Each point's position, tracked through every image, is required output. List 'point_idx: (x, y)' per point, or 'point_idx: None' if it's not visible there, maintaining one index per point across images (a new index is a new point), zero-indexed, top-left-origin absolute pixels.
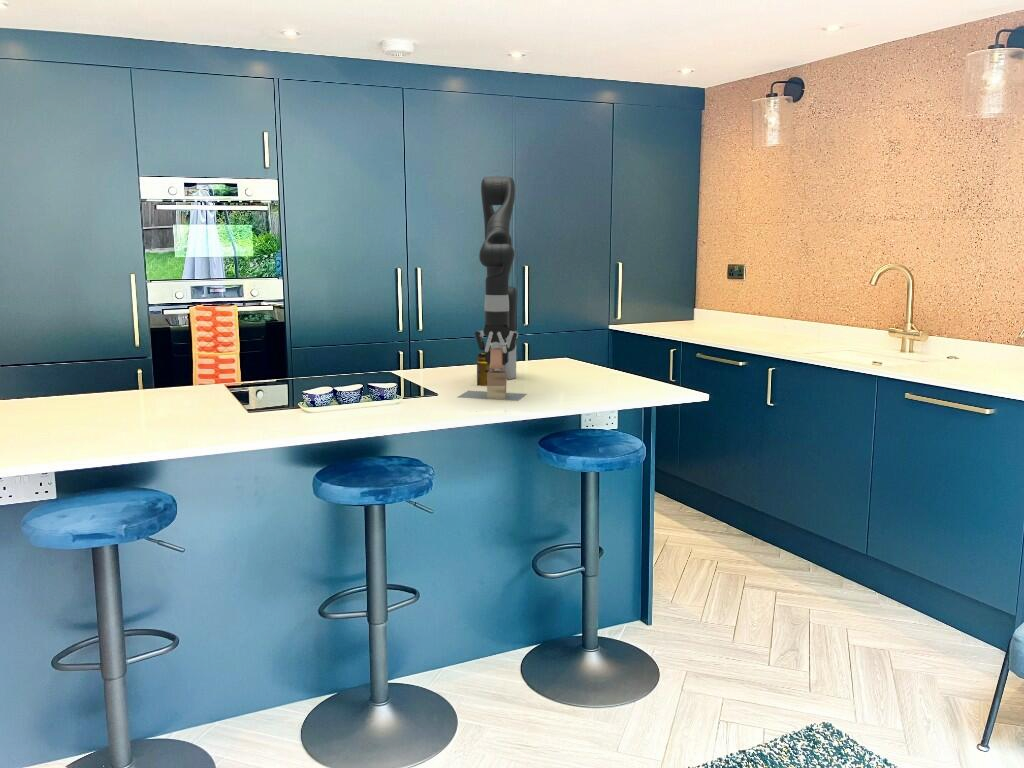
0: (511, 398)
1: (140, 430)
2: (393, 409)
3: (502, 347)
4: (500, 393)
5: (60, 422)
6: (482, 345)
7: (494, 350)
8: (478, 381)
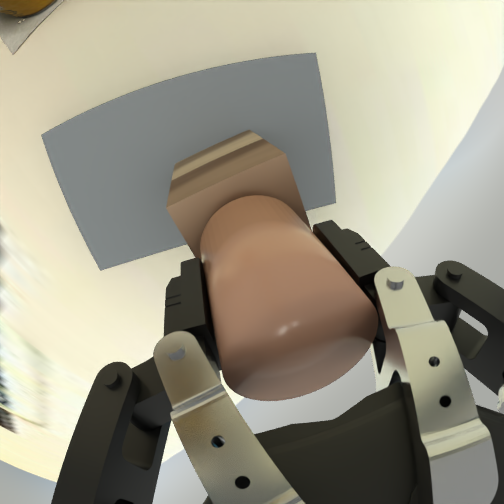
0: (297, 177)
1: (50, 468)
2: (88, 390)
3: (379, 372)
4: None
5: (3, 457)
6: (160, 438)
7: (299, 389)
8: (9, 13)
